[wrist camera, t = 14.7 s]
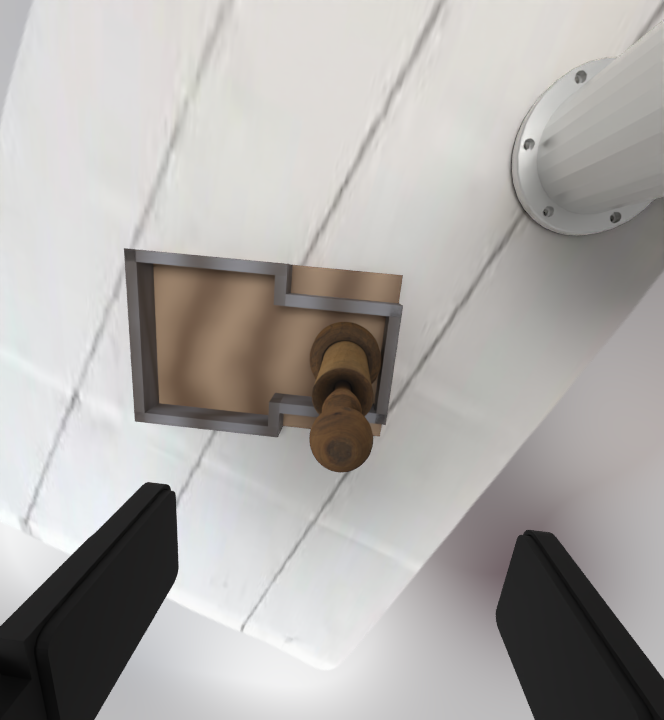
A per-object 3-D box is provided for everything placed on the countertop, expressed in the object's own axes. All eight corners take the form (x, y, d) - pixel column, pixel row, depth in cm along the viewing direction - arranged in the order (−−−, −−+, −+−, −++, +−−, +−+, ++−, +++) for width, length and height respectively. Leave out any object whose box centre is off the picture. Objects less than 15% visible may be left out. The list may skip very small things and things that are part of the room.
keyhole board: (401, 275, 31) (407, 275, 27) (378, 431, 35) (382, 448, 31) (148, 251, 31) (124, 248, 28) (155, 407, 35) (135, 421, 32)
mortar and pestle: (297, 357, 32) (235, 455, 15) (342, 306, 31) (332, 349, 13) (348, 400, 33) (347, 542, 15) (394, 353, 31) (449, 451, 14)
